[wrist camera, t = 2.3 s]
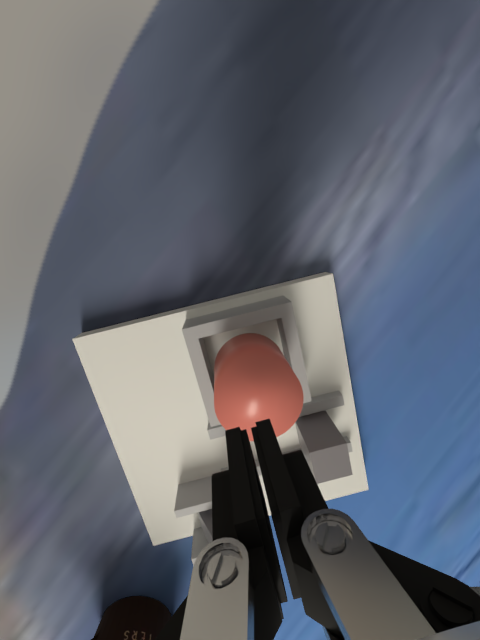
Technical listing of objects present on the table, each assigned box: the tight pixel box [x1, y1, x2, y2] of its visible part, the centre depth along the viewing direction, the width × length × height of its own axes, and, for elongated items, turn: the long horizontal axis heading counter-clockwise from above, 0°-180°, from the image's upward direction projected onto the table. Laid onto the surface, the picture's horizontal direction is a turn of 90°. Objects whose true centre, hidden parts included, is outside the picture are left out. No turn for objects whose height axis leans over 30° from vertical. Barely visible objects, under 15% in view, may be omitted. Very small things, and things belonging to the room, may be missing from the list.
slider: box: [295, 410, 353, 484], centre depth 22 cm, size 2×2×4 cm
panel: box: [72, 272, 369, 565], centre depth 23 cm, size 18×18×4 cm
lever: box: [197, 509, 213, 543], centre depth 21 cm, size 1×3×7 cm, turn 14°
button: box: [214, 333, 304, 441], centre depth 18 cm, size 4×4×4 cm
